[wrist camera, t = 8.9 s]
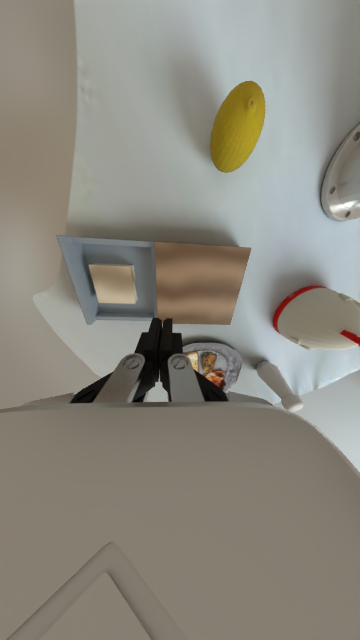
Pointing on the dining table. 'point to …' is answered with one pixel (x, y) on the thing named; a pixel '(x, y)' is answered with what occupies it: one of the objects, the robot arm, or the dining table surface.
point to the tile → (114, 283)
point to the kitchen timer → (319, 319)
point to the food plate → (215, 363)
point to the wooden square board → (198, 282)
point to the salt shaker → (279, 386)
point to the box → (112, 252)
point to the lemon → (237, 126)
